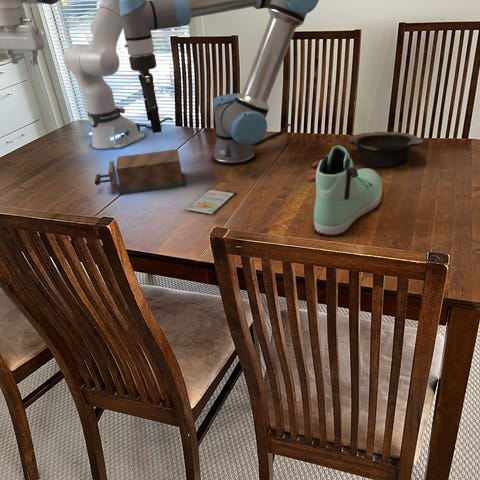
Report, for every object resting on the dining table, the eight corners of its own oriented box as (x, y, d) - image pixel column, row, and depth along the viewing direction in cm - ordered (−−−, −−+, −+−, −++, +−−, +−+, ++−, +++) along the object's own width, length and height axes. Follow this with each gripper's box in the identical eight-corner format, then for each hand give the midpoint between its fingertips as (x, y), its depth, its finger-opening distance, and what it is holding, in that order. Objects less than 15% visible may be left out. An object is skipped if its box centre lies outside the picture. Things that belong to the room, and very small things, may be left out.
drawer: (96, 194, 157) (91, 174, 154) (98, 182, 165) (93, 163, 162) (170, 184, 160) (167, 164, 156) (169, 173, 168) (166, 154, 164)
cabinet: (121, 194, 158) (115, 168, 153) (122, 181, 167) (117, 156, 163) (183, 186, 160) (179, 160, 156) (181, 173, 170) (177, 149, 165)
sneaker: (389, 187, 148) (396, 123, 138) (356, 242, 123) (361, 168, 112) (346, 181, 154) (350, 119, 144) (306, 232, 129) (307, 161, 118)
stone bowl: (380, 178, 154) (381, 150, 149) (333, 160, 174) (332, 135, 170) (437, 159, 162) (439, 132, 158) (385, 144, 183) (386, 120, 178)
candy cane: (296, 178, 159) (296, 174, 158) (317, 162, 169) (317, 158, 168) (312, 182, 156) (312, 178, 155) (333, 165, 166) (333, 161, 165)
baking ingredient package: (185, 208, 144) (210, 188, 156) (186, 209, 145) (210, 190, 156) (211, 213, 141) (234, 192, 152) (211, 214, 141) (234, 193, 152)
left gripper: (42, 16, 149) (54, 63, 156) (-1, 17, 158) (12, 61, 165) (26, 19, 145) (39, 67, 152) (-18, 20, 154) (-4, 64, 161)
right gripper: (125, 49, 149) (138, 116, 160) (132, 64, 128) (146, 140, 139) (149, 46, 150) (161, 113, 161) (159, 60, 129) (172, 135, 140)
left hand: (24, 64), depth 159 cm, fingers open, 8 cm apart
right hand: (154, 125), depth 150 cm, fingers open, 13 cm apart
